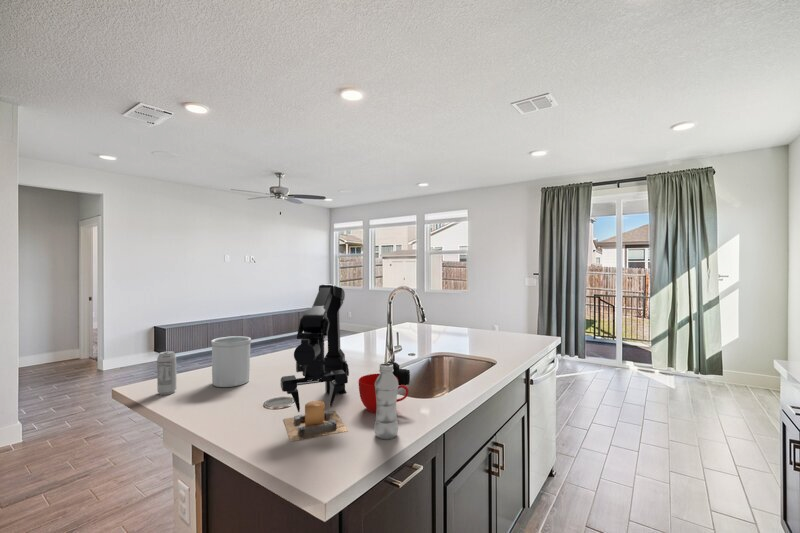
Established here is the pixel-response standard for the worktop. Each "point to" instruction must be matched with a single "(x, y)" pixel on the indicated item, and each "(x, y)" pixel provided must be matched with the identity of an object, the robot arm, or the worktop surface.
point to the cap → (314, 413)
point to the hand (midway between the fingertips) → (314, 409)
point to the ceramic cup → (372, 391)
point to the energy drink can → (166, 373)
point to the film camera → (401, 374)
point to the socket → (313, 427)
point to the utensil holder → (230, 361)
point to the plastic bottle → (386, 403)
